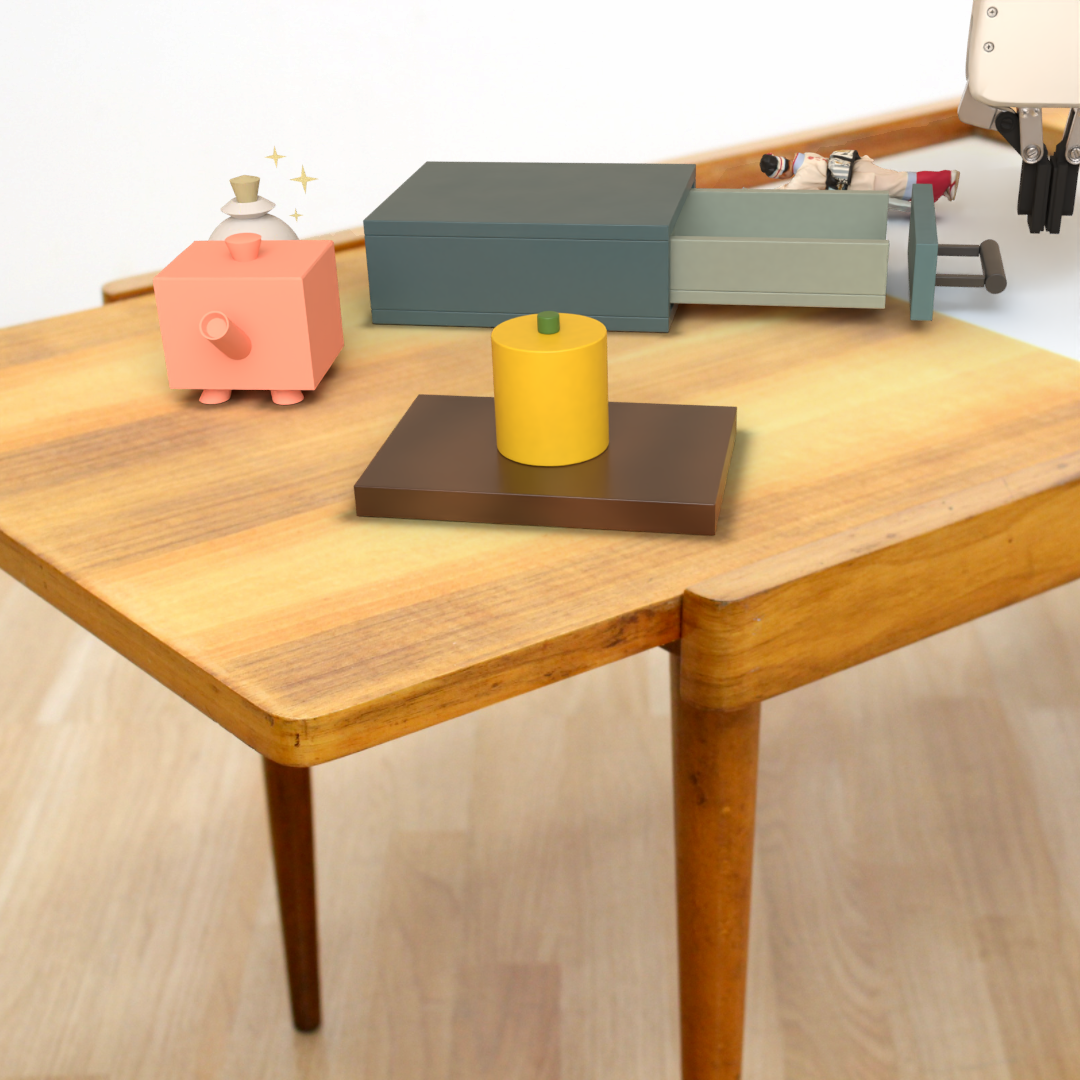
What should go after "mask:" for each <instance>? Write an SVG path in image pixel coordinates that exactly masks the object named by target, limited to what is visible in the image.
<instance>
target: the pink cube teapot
mask: <svg viewBox="0 0 1080 1080" xmlns="http://www.w3.org/2000/svg"><path fill="white" fill-rule="evenodd" d="M152 285H153V290H154V298H155V305H156V309H157V317H158V322H159V329H160V335H161V342H162V348H163V353H164V354H163V355H164V360H165V366H166V372H167V373H166V374H167V379H168V386H169V389H170V390H202V392H201V395H200V396H199V399H198V401H199V402H200V403H202V404H207V405H216V404H221V403H225V402H226V401H228V400H230V399H231V397H232V391H233V390H243V391H244V390H246V391H247V390H248V391H249V390H251V391H252V390H254V391H256V390H260V391H262V390H263V391H265V390H266V391H267V390H269V391H270V395H271V400H272V403H274V404H277V405H280V406H281V405H282V406H283V405H284V406H286V405H288V406H289V405H294V404H298V403H300V402H302V401H304V398H305V397H304V394H303V393H302V391H315V390H316V389H317V388H318V386H319V384H320V383H321V382H322V380H323V378H325V375H326V374H327V372H328V371H329V370H330V368H331V366H332V365H333V364H334V362H335V361H336V359H337V357H338V356H339V355H340V353H341V351H342V350H343V349H344V347H345V340H344V327H343V319H342V318H343V317H342V310H341V299H340V291H339V289H340V288H339V279H338V269H337V260H336V251H335V241H334V240H332V239H331V240H330V239H299V240H261V235H259V234H255V233H238V234H234V235H231V236H229V237H227V238H226V239H225V240H224V241H208V240H194V241H193V242H192V243H190V245H189V246H187V247H186V248H185V249H184V250H183V251H182V252H180V253H179V254H178V255H177V256H176V257H174V259H172V261H170V262H169V263H168V264H167V265H166V266H165V267H164V268H163V269H162V270H161V271H159V272H158V273H157V274H156V275H155V276H154V277H153V279H152Z"/></svg>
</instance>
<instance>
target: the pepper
mask: <svg viewBox="0 0 1080 1080" xmlns="http://www.w3.org/2000/svg"><path fill="white" fill-rule="evenodd" d="M490 344H491V346H490V347H491V361H492V362H491V365H492V382H493V383H492V384H493V397H494V402H495V420H496V439H497V448H498V450H499V452H500V453H501V454H502V455H503V456H505V457H506V458H508V459H510V460H512V461H515V462H518V463H522V464H527V465H533V466H564V465H571V464H576V463H581V462H584V461H587V460H590V459H592V458H595V457H597V456H598V455H600V454H601V453H603V452H604V451H605V450H606V448H607V446H608V444H609V414H608V402H609V369H608V368H609V367H608V365H609V364H608V363H609V361H608V331H607V329H606V327H605V326H604V325H603V324H602V323H601V322H599V321H598V320H595V319H593V318H590V317H586V316H582V315H576V314H568V313H557V312H554V311H544V312H540V313H538V314H532V315H526V316H521V317H517V318H513V319H510V320H507V321H505V322H503V323H501V324H499V325H498V326H496V327H493V329H492V331H491V333H490Z"/></svg>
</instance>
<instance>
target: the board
mask: <svg viewBox="0 0 1080 1080" xmlns="http://www.w3.org/2000/svg"><path fill="white" fill-rule="evenodd" d="M608 414H609V444H608V446H607V448H606V450H605V451H604V452H603V453H601V454H600V455H598V456H597V457H595V458H592V459H590V460H587V461H584V462H581V463H576V464H571V465H564V466H533V465H527V464H522V463H518V462H515V461H512V460H510V459H508V458H506V457H505V456H503V455H502V454H501V453H500V452H499V450H498V448H497V439H496V420H495V402H494V396H477V395H476V396H474V395H451V394H450V395H449V394H447V395H446V394H423V393H422V394H421V393H420V394H417V396H416V397H415V399H414V400H413V401H412V403H411V405H410V406H409V407H408V408H407V410H406V411H405V413H404V414H403V416H402V417H401V419H400V420H399V421H398V423H397V424H396V425H395V427H394V428H393V430H392V431H391V432H390V434H389V435H388V437H387V438H386V440H385V441H384V443H383V444H382V445H381V447H380V448H379V449H378V451H377V452H376V454H375V455H374V456H373V458H372V459H371V461H370V462H369V464H368V465H367V467H366V468H365V469H364V470H363V472H362V473H361V475H360V477H359V478H358V479H357V480H356V481H355V483H354V484H353V491H354V492H353V494H354V503H355V511H356V512H355V513H356V516H358V517H376V518H391V519H392V518H393V519H394V518H396V519H410V520H412V519H413V520H427V521H428V520H429V521H430V520H431V521H445V522H446V521H447V522H448V521H449V522H467V523H482V524H483V523H485V524H501V525H502V524H504V525H521V526H537V527H538V526H539V527H554V528H555V527H558V528H577V529H592V530H610V531H611V530H613V531H628V532H629V531H630V532H647V533H665V534H682V535H683V534H684V535H701V536H703V535H704V536H715V535H716V530H717V527H718V522H719V517H720V513H721V509H722V503H723V498H724V495H725V489H726V485H727V479H728V475H729V470H730V466H731V461H732V457H733V453H734V447H735V442H736V438H737V431H738V429H737V427H738V426H737V425H738V407H737V406H731V405H729V406H728V405H705V404H704V405H703V404H678V403H653V402H651V403H650V402H629V401H627V402H626V401H608Z"/></svg>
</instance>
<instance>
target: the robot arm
mask: <svg viewBox="0 0 1080 1080" xmlns="http://www.w3.org/2000/svg"><path fill="white" fill-rule="evenodd" d="M970 13H971V14H970V21H969V28H968V36H967V45H966V57H965V80H966V82H965V86H964V88H963V92H962V94H961V97H960V100H959V103H958V105H957V110H956V111H957V117H958V120H959V121H960V122H961V123H964V124H966V125H970V126H974V127H978V128H981V129H985V130H988V131H989V130H992V131H995V132H998V133H999V134H1000V135H1001V136H1002V137H1003V138H1004V139H1005V141H1006V142H1007V143H1008V144H1009V145H1010V146H1011V147H1012V148H1013V149H1014V150H1015V152H1016V153H1017V154H1018V155H1019V156H1020V157H1021V169H1020V176H1019V185H1018V194H1017V203H1016V204H1017V206H1016V211H1017V215H1018V216H1026V222H1027V227H1028V230H1029V234H1033V235H1034V234H1035V235H1039V234H1041V232H1044V231H1045V232H1048V234H1049V235H1060V233H1061V226H1062V225H1061V224H1062V217H1073V215H1074V211H1075V203H1076V194H1077V187H1078V179H1079V172H1080V0H972V5H971V12H970ZM1014 108H1015V109H1014ZM1043 109H1069V111H1068V115H1067V118H1066V122H1065V126H1064V129H1063V133H1062V136H1061V140H1060V142H1058V143H1057V144H1056V145H1055V151H1053V153H1052V154H1053V155H1049V151H1048V147H1047V145H1046V144H1045V143H1044V130H1043Z"/></svg>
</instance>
